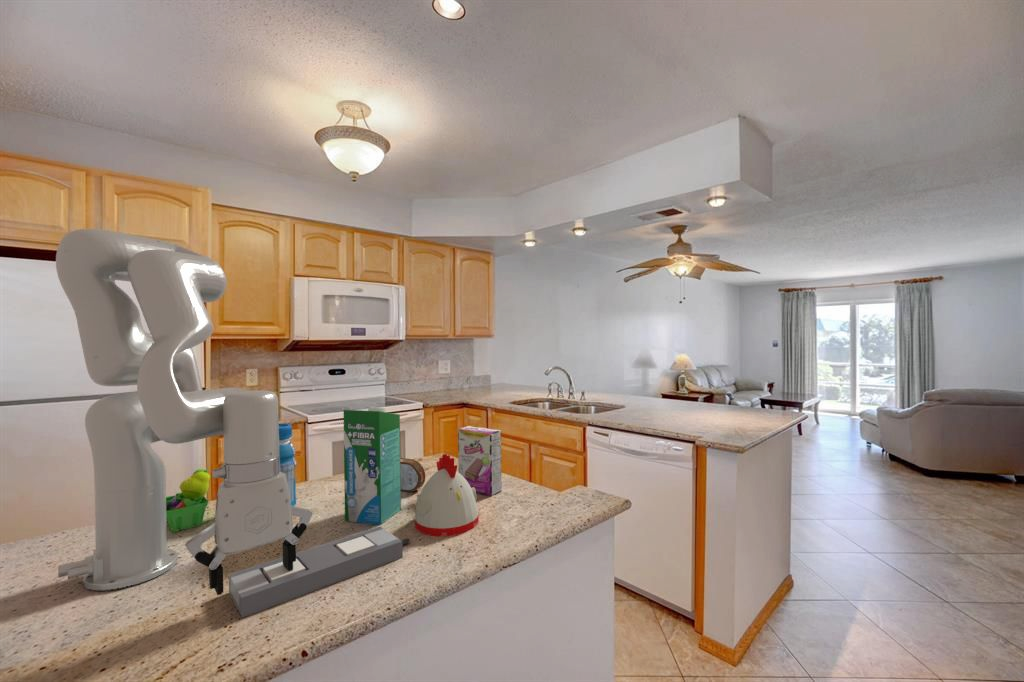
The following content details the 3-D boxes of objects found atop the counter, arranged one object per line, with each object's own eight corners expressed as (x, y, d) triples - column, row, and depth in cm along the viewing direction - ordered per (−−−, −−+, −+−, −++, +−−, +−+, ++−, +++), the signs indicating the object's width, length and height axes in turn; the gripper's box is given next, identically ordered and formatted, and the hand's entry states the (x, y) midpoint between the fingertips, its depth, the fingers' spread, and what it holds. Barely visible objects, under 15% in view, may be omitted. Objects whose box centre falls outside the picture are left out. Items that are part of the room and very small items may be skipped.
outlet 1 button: (271, 592, 69) (271, 579, 69) (263, 579, 73) (263, 567, 73) (305, 580, 73) (305, 568, 73) (295, 569, 76) (295, 557, 76)
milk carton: (401, 509, 105) (400, 404, 105) (380, 525, 97) (378, 410, 97) (368, 506, 108) (366, 403, 108) (344, 521, 99) (343, 409, 99)
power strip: (241, 618, 65) (241, 597, 65) (228, 592, 71) (228, 574, 71) (421, 550, 85) (421, 534, 85) (398, 535, 92) (398, 520, 92)
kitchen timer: (432, 542, 88) (431, 467, 88) (404, 520, 100) (404, 453, 99) (490, 524, 97) (489, 456, 97) (459, 505, 108) (458, 444, 108)
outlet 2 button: (347, 565, 77) (347, 554, 77) (336, 555, 81) (336, 544, 81) (374, 555, 81) (374, 544, 81) (362, 546, 84) (362, 536, 84)
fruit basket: (158, 520, 101) (157, 471, 101) (205, 509, 107) (204, 463, 107) (165, 536, 93) (165, 482, 93) (216, 523, 99) (215, 472, 99)
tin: (426, 490, 119) (425, 459, 118) (419, 494, 116) (419, 462, 116) (380, 484, 124) (380, 454, 124) (373, 488, 121) (372, 457, 121)
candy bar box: (457, 489, 119) (456, 428, 119) (468, 484, 123) (468, 425, 123) (491, 497, 113) (491, 432, 113) (502, 491, 118) (501, 429, 117)
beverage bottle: (278, 517, 102) (277, 430, 102) (248, 514, 104) (247, 428, 104) (304, 504, 110) (303, 423, 110) (276, 501, 112) (275, 422, 112)
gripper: (188, 488, 61) (190, 613, 61) (318, 463, 73) (320, 567, 73) (181, 477, 67) (183, 591, 67) (302, 455, 78) (304, 552, 78)
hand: (254, 578), depth 70 cm, fingers open, 9 cm apart
